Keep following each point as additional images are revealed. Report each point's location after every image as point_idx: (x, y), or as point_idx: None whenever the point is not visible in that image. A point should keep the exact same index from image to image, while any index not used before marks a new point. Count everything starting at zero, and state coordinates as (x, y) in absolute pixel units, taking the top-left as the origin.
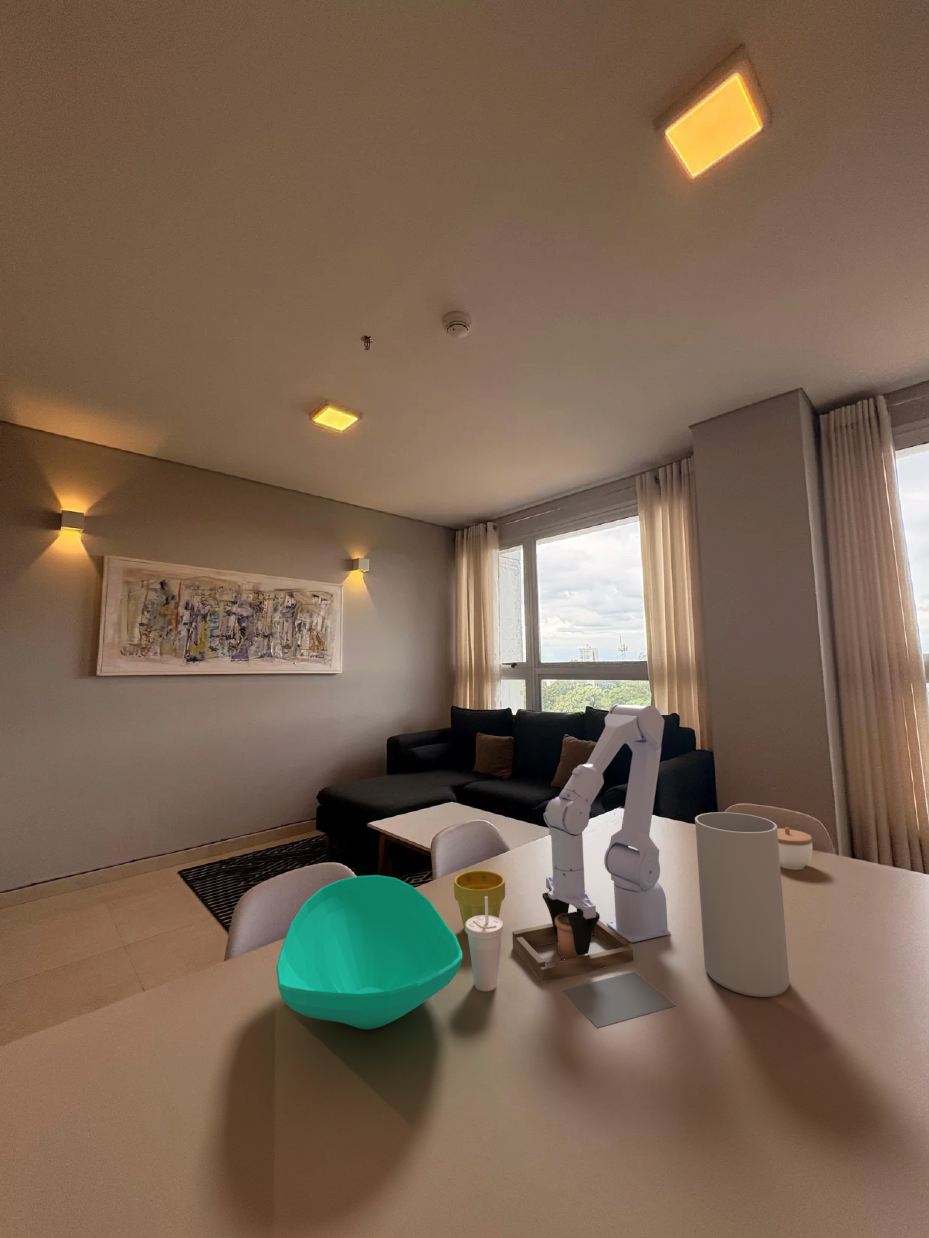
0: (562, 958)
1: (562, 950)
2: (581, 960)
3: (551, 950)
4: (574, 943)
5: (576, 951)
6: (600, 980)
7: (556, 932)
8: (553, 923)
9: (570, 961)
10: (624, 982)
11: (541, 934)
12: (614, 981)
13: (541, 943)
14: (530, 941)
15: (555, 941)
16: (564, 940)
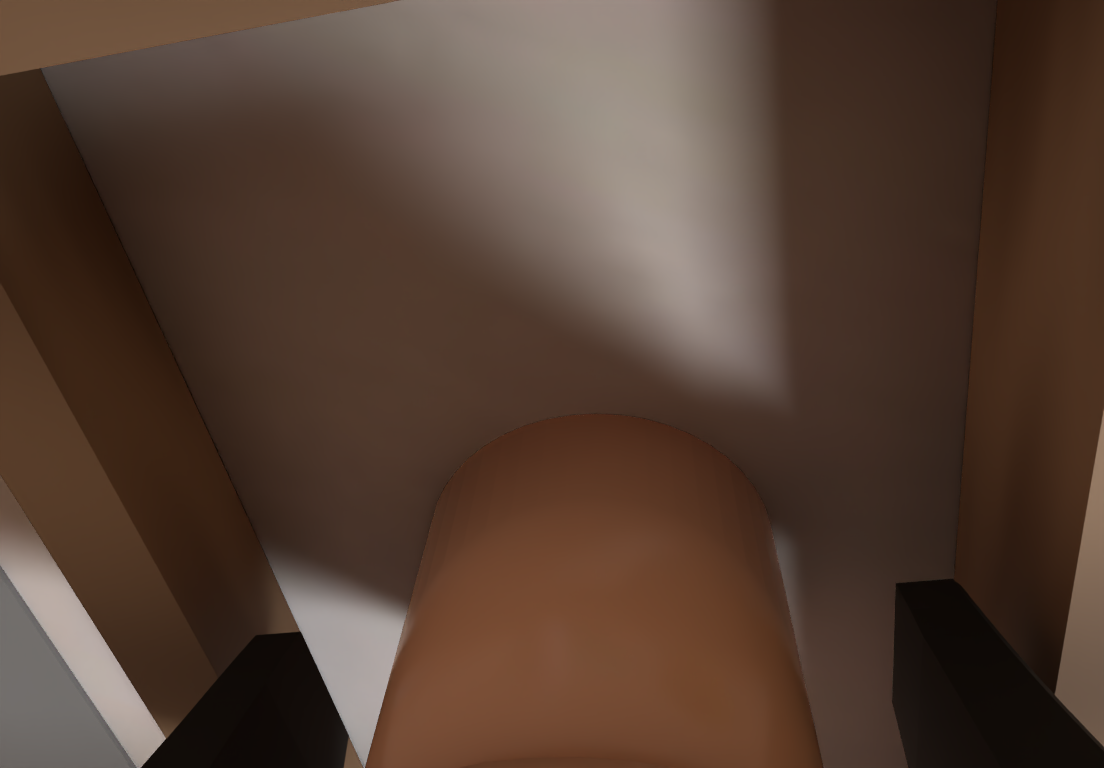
0: (518, 431)
1: (503, 502)
2: (104, 623)
3: (781, 369)
4: (222, 739)
5: (258, 656)
6: (20, 616)
7: (910, 614)
8: (1005, 711)
9: (56, 501)
10: (15, 755)
11: (1045, 375)
12: (17, 703)
13: (991, 293)
14: (1039, 101)
15: (965, 495)
16: (439, 646)
